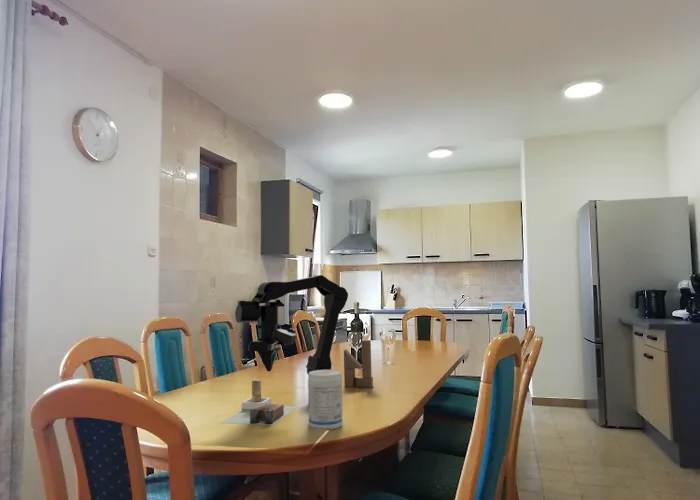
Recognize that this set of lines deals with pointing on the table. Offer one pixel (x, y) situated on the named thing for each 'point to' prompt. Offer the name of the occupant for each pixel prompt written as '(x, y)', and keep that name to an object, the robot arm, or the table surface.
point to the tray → (254, 404)
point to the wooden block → (358, 367)
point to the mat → (244, 417)
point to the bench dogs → (255, 416)
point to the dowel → (256, 390)
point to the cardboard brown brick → (277, 409)
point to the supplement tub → (325, 399)
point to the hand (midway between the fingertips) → (269, 371)
